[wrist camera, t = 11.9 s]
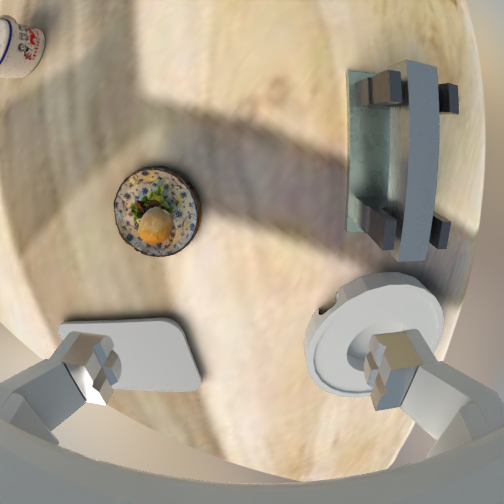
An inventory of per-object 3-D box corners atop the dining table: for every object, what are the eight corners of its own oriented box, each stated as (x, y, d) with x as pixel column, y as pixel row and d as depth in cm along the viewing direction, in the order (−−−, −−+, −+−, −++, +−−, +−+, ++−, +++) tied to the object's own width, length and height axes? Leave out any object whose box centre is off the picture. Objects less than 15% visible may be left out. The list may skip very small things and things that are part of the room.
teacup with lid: (49, 59, 28) (-4, 52, 17) (12, 89, 29) (-39, 92, 18) (44, 5, 23) (-2, -10, 12) (8, 36, 24) (-38, 30, 14)
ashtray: (304, 389, 49) (306, 405, 46) (300, 280, 40) (304, 295, 37) (418, 368, 47) (425, 382, 44) (444, 262, 38) (457, 273, 35)
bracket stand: (345, 72, 29) (376, 52, 19) (417, 83, 28) (464, 74, 19) (344, 229, 37) (370, 264, 27) (411, 229, 36) (450, 261, 27)
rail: (388, 67, 24) (406, 59, 19) (415, 72, 23) (436, 67, 19) (382, 244, 31) (397, 261, 27) (408, 244, 31) (425, 260, 27)
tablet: (207, 382, 49) (205, 391, 47) (93, 378, 52) (89, 385, 50) (181, 310, 43) (177, 319, 41) (58, 317, 46) (53, 323, 44)
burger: (158, 146, 34) (133, 152, 27) (221, 214, 37) (211, 234, 30) (103, 209, 37) (75, 227, 30) (160, 268, 40) (142, 296, 33)
